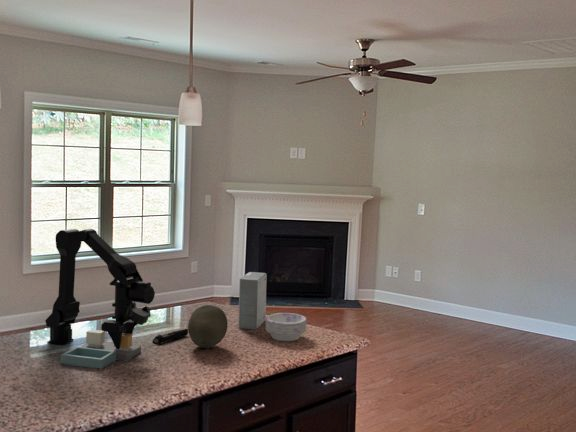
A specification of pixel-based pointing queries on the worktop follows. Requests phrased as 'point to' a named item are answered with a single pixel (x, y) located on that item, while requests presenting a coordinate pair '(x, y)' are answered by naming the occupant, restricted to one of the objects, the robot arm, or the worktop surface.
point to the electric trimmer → (170, 336)
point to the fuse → (95, 338)
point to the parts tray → (88, 357)
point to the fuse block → (119, 353)
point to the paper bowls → (285, 326)
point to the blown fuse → (125, 342)
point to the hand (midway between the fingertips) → (122, 346)
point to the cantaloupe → (207, 326)
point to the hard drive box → (252, 300)
